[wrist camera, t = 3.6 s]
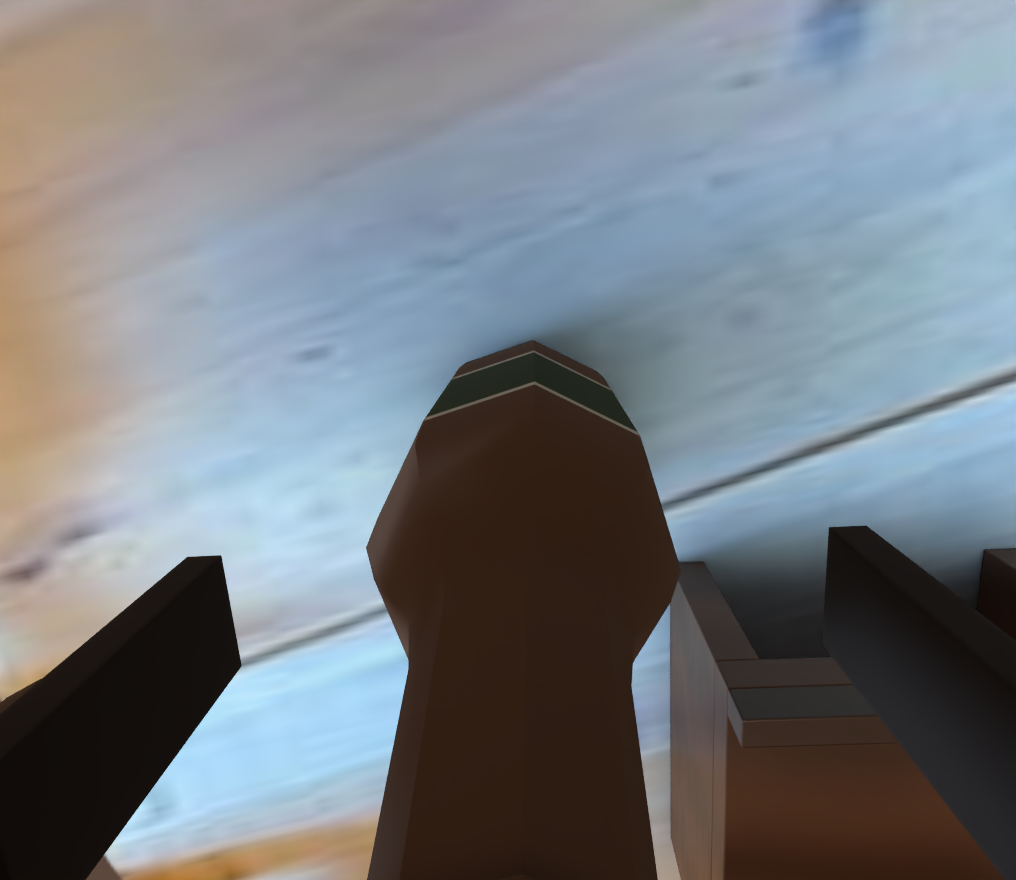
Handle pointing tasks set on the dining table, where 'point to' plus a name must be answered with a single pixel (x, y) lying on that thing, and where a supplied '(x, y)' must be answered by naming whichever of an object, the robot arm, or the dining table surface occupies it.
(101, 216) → the dining table surface
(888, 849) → the shelf stand
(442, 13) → the dining table surface
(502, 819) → the beer bottle
